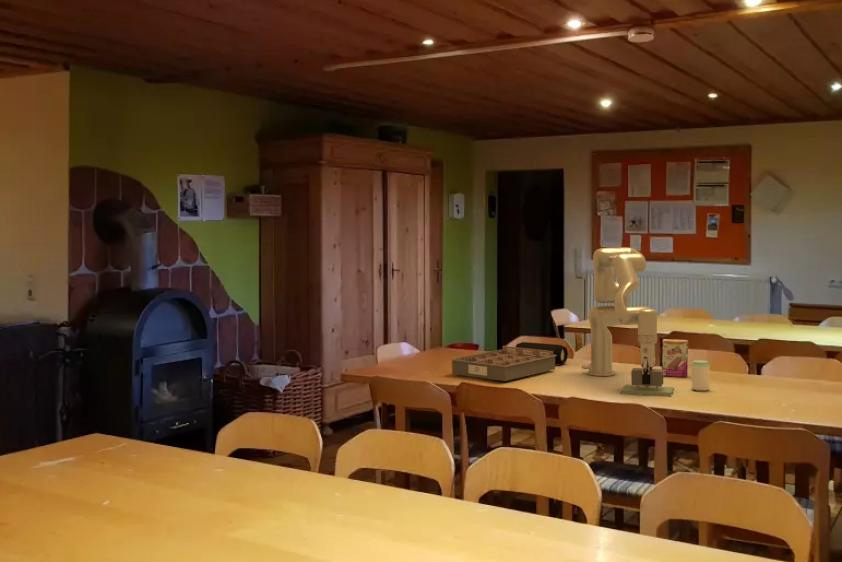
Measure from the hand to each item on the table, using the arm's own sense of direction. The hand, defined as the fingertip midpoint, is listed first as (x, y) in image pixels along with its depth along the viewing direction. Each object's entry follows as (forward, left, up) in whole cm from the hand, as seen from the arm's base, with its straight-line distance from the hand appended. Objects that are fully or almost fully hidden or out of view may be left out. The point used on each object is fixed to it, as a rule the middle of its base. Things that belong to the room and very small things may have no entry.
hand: (647, 382), depth 350 cm
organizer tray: (-68, +24, -5) cm, 72 cm away
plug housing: (0, 0, -1) cm, 1 cm away
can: (+20, +11, -4) cm, 23 cm away
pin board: (0, 0, -4) cm, 4 cm away
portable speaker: (-59, +59, -4) cm, 83 cm away
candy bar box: (+7, +40, -4) cm, 41 cm away
